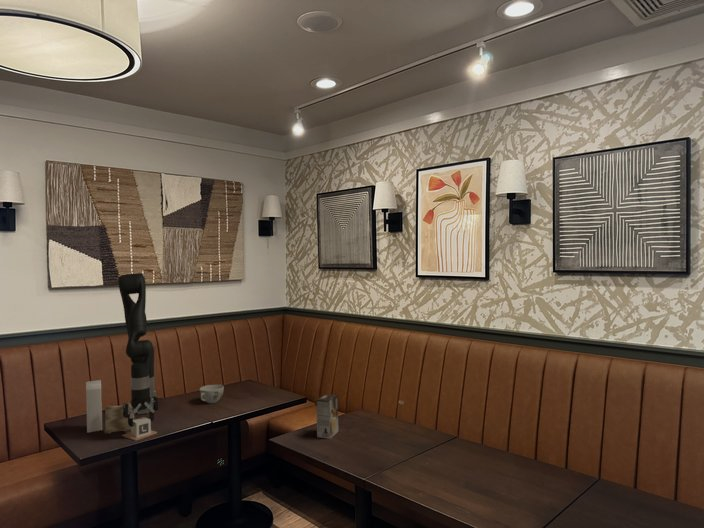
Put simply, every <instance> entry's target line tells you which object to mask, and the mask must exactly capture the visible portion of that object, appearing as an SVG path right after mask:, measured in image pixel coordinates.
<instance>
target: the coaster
mask: <svg viewBox="0 0 704 528" xmlns="http://www.w3.org/2000/svg"><path fill="white" fill-rule="evenodd" d="M156 434H158V432H157V431H155V430H152V429H151V434H148V435H144V436H141V437H135V436H133V435H132V434H131V432H130V433H124V434H122V435H121V437H123V436H124V438H126V439H129V440H132V441H134V442H137V441H139V440H142V439H145V438H147V437H151V436H154V435H156Z"/></svg>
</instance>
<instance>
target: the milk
mask: <svg viewBox="0 0 704 528" xmlns="http://www.w3.org/2000/svg"><path fill="white" fill-rule="evenodd" d="M85 395H86V397H85V400H86V407H85V408H86V433H93V432H99V431H100V430H101V431H103V404H102V403H103V402H102V380H101V379H97V380H89V381H86V382H85Z"/></svg>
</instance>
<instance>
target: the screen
mask: <svg viewBox="0 0 704 528" xmlns="http://www.w3.org/2000/svg"><path fill="white" fill-rule="evenodd" d="M131 408H132V406H131V405H130V407H129V408H128V414H129V412H130V410H131ZM104 411H105V413H104V415H105V417H104V418H105V422H104V423H105V430H104V434H111V433H118V432H117V431H125V432H124V434H127V433H130V432H131V427H130V426H129V425H128V418H125V417H123V405H106V406H105V407H104ZM132 418H133V420H134V419H135V415H134V416H133V417H132Z"/></svg>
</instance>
